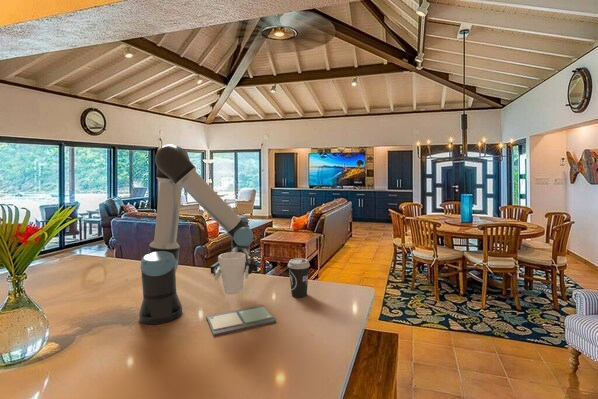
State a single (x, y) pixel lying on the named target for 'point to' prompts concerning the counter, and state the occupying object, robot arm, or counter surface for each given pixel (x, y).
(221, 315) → the tile board
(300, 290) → the coffee cup
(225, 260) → the foam cup
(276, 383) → the counter surface
